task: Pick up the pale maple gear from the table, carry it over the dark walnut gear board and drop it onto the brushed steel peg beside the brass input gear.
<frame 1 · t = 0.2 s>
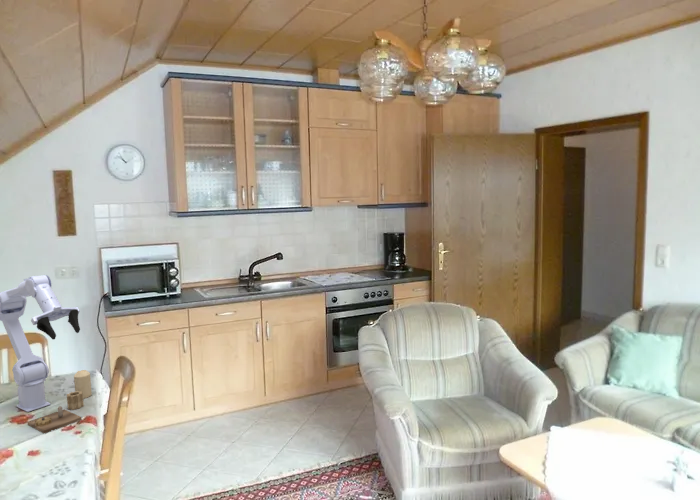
hand: (66, 334, 167), 31 cm above the table, tool tilted 45°, fingers open, 7 cm apart
maple gear: (75, 406, 184), on the table
candle: (83, 396, 194), on the table
gear board: (54, 422, 171), on the table
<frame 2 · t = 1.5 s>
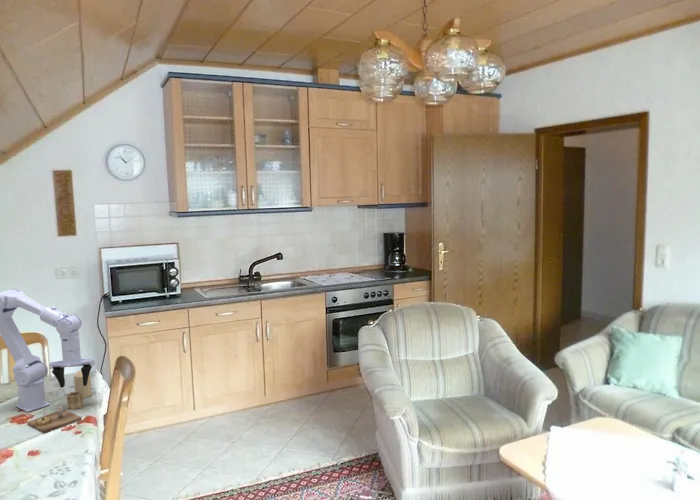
hand: (74, 385, 183), 8 cm above the table, tool pointing down, fingers open, 7 cm apart
nothing on the table moved.
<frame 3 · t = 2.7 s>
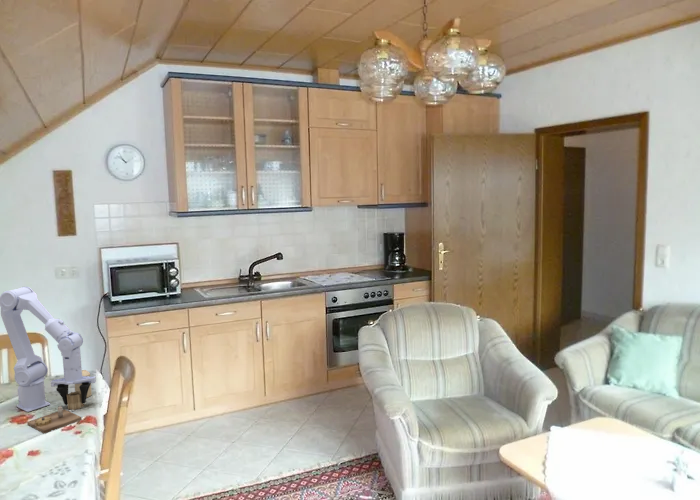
hand: (75, 403, 183), 1 cm above the table, tool pointing down, fingers closed on maple gear, 5 cm apart
maple gear: (75, 406, 184), on the table, touching gripper
everything else where it was.
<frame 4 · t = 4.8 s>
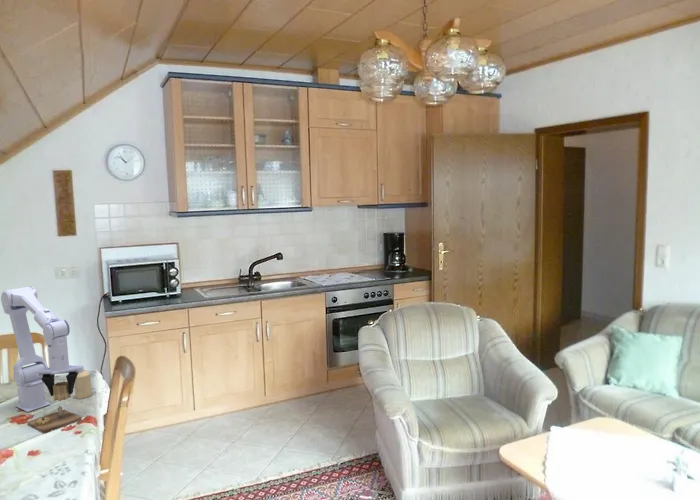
hand: (62, 394, 174), 8 cm above the table, tool pointing down, fingers closed on maple gear, 5 cm apart
maple gear: (62, 398, 174), point 7 cm above the table, touching gripper
everything else where it was.
when the fingers open (3 cm above the table, at t = 7.1 s): maple gear stays where it is, resting on gear board.
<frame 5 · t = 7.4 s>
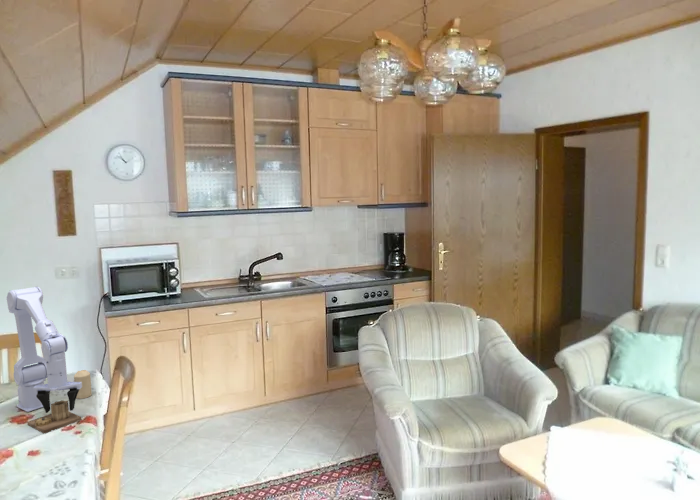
hand: (60, 410, 172), 3 cm above the table, tool pointing down, fingers open, 7 cm apart
maple gear: (60, 417, 173), point 1 cm above the table, touching gear board
everything else where it was.
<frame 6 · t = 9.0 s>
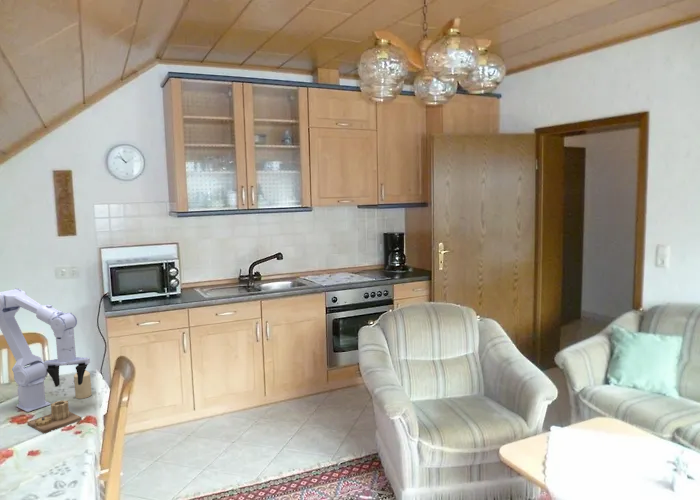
hand: (69, 384, 180), 9 cm above the table, tool pointing down, fingers open, 7 cm apart
nothing on the table moved.
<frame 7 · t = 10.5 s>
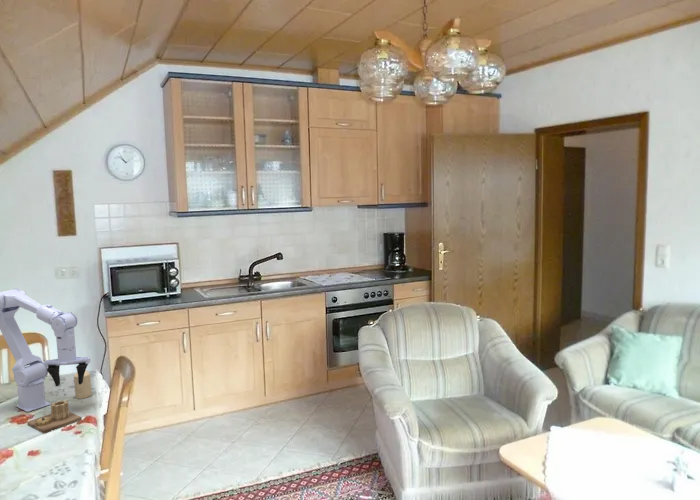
hand: (69, 384, 180), 9 cm above the table, tool pointing down, fingers open, 7 cm apart
nothing on the table moved.
at the end: maple gear 0.0 cm from the target spot on the gear board, point 1.0 cm above the gear board's base; maple gear tilted 0°; the gripper is holding nothing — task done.
